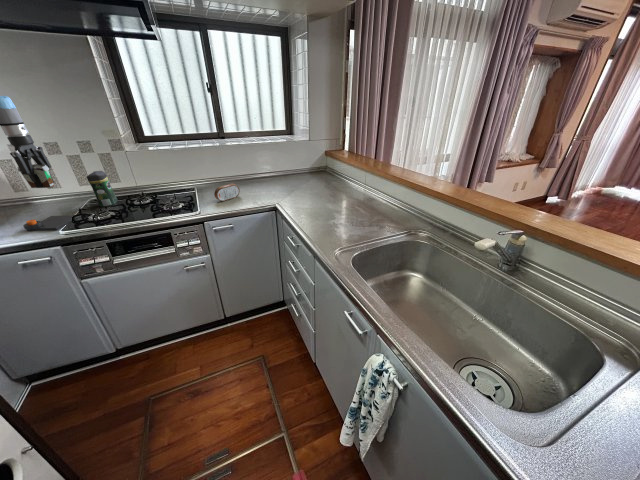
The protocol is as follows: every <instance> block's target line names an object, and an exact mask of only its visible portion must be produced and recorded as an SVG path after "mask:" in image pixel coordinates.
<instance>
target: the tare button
mask: <svg viewBox="0 0 640 480" xmlns="http://www.w3.org/2000/svg"><path fill="white" fill-rule="evenodd" d="M36 221H37V220H36V219H29V220H26V221H25V224H26V223H27V225H34V224H36V223H37V222H36Z"/></svg>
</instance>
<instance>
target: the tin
mask: <svg viewBox="0 0 640 480" xmlns="http://www.w3.org/2000/svg"><path fill="white" fill-rule="evenodd" d="M240 190H241V189H240V187H239V186H238V185H237V184H235V183H229V184H224V185H219V186H218V187H217V188H215V190H214V193H213V194H214V198H215V199H216V200H218V201H220V202H225V201H226V202H227V201H229V200H232V199H236V198H238V196H239V195H240V192H241V191H240Z"/></svg>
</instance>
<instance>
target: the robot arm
mask: <svg viewBox="0 0 640 480" xmlns="http://www.w3.org/2000/svg"><path fill="white" fill-rule="evenodd" d="M0 128H1V130H2V131H3V134H4V136H7V140H8V142H9V144H10V145H11V146H12V147H14V151H13V152H10V153H9V155H10V156H11V157H12V158H13V159H14V161H15V163H16V165H17V167H19V169H20V170H21V172H22V174H23V175H29V177H30V179H31V180H32V182H34V183H35V185H36V187H37V188H36V189H45V188H44V186H43V184H42V182H41V181H40V179H39V177H38V175H37V174H34V170H33V166H32V165H33V164H32V160H33V161H34V162H35V164H38V165H42V164H45V165H46V166H47V167H48V168H49V170H48V171H49V174H50V176H51V178H52V181H53V183H54V184H55V181H54V179H53V177H52V174H51V172H50V171H51V168H52V165H51V163H50V161H49V159H48V158H47V156H46V155H45V153H44V149H43V147H42V146H36V145H35V141H34V139H33V137H32V136H31V135H30V132H29V130H28V127H27V126H26V124H25V122H24V121H23V119H22V117H21V114H20V113H19V111H18V109H17V106H16V105H15V103H14V102H13V100H12V99H11V98H10V96H7V95H0ZM21 172H20V173H21ZM22 174H21V175H22ZM23 175H22V176H23Z"/></svg>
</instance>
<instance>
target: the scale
mask: <svg viewBox="0 0 640 480" xmlns="http://www.w3.org/2000/svg"><path fill="white" fill-rule="evenodd" d="M75 215H76V214H75ZM75 215H50V216H49V217H46V218H44V219H42V220H36V222H37V223H36V224H34V225H27V223H26V222H25V223H24V224H23V225H22V227H23V229H24V230H26V231H27V232H41V231H42V232H47V231H48V232H50V231H53V232H54V231H60V230H61V229H63V228H64V226H65V225H66V226H68V225H69V224H68V223H70V222H71V221H72V217H73V216H75ZM67 224H68V225H67ZM70 224H71V223H70ZM66 226H65V227H66Z"/></svg>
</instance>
